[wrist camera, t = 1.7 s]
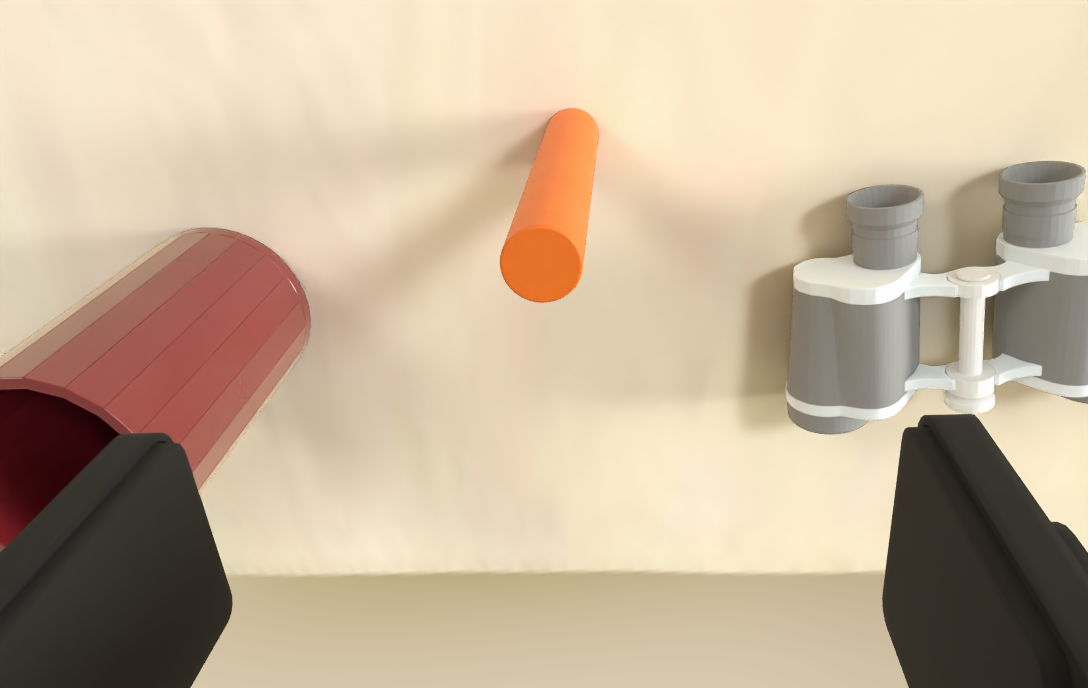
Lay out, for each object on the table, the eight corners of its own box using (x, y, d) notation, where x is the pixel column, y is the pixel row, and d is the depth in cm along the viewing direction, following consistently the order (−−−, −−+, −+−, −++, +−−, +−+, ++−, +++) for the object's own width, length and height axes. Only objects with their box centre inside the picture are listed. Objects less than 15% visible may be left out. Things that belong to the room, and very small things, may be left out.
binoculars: (781, 397, 33) (797, 448, 30) (766, 201, 29) (782, 236, 26) (1116, 358, 31) (1172, 408, 28) (1143, 143, 27) (1210, 173, 24)
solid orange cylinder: (544, 109, 28) (495, 227, 18) (597, 106, 28) (580, 223, 18) (548, 161, 29) (503, 304, 19) (599, 159, 29) (585, 302, 18)
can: (121, 231, 32) (-116, 381, 22) (290, 223, 31) (127, 374, 21) (170, 384, 35) (-18, 579, 25) (325, 380, 34) (198, 579, 24)
